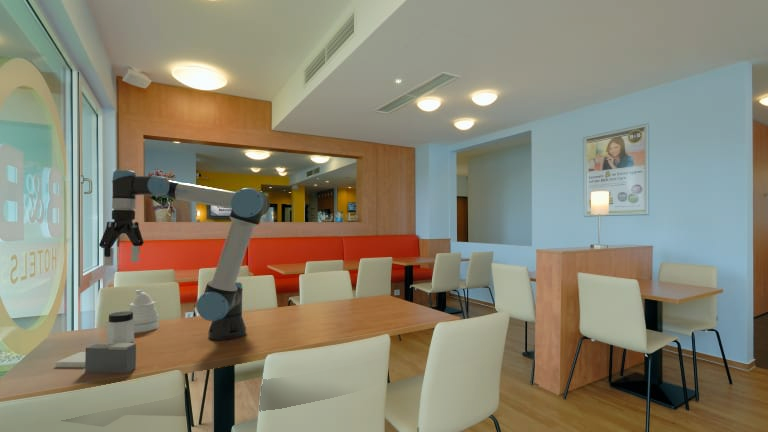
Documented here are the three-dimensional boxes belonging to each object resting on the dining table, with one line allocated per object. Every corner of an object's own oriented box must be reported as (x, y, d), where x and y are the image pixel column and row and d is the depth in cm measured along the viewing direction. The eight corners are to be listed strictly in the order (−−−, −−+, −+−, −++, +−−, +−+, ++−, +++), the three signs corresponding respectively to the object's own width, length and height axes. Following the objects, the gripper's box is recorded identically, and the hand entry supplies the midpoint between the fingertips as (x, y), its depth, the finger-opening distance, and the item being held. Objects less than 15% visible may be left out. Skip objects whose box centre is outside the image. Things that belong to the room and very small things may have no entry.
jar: (105, 348, 143) (106, 317, 143) (107, 342, 150) (108, 312, 150) (133, 344, 148) (134, 314, 148) (134, 338, 155) (134, 310, 155)
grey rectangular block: (135, 368, 123) (136, 343, 123) (126, 373, 119) (127, 347, 119) (95, 367, 124) (95, 342, 124) (84, 372, 119) (85, 346, 120)
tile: (107, 352, 134) (80, 351, 134) (85, 362, 124) (55, 361, 124) (107, 357, 134) (80, 357, 134) (84, 368, 124) (55, 368, 124)
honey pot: (133, 334, 161) (134, 293, 162) (119, 329, 168) (120, 290, 169) (163, 327, 172) (164, 288, 173) (149, 323, 179) (150, 286, 179)
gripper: (136, 210, 158) (135, 260, 157) (87, 208, 133) (86, 267, 132) (153, 211, 157) (153, 260, 157) (107, 208, 133) (106, 267, 132)
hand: (122, 263), depth 145 cm, fingers open, 13 cm apart
